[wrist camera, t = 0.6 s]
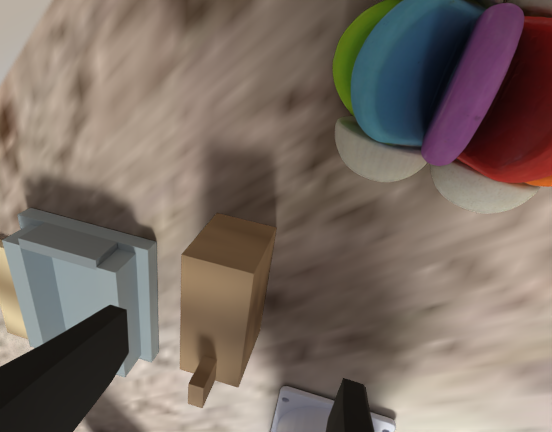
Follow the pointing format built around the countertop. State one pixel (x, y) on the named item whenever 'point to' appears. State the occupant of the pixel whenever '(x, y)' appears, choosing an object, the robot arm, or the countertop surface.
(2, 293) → the plank
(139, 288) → the jig
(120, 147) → the countertop surface
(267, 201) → the countertop surface
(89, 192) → the countertop surface
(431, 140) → the rainbow segmented toy
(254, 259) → the tan pegged block
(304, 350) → the countertop surface
